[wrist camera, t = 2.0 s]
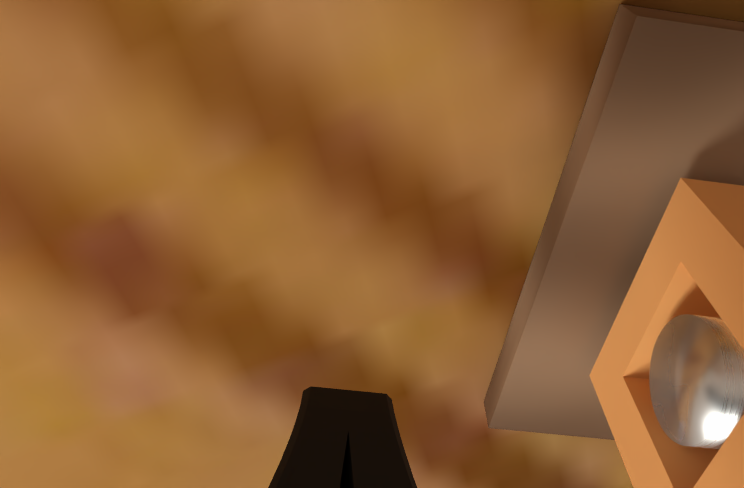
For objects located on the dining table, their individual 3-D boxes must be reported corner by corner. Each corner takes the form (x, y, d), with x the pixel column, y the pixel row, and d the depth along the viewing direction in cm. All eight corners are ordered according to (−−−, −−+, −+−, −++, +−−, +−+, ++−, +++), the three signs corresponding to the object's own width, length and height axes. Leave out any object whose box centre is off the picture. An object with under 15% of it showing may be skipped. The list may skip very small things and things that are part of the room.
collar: (660, 382, 17) (781, 616, 12) (589, 375, 17) (681, 608, 12) (768, 188, 14) (999, 399, 9) (680, 177, 13) (863, 384, 8)
